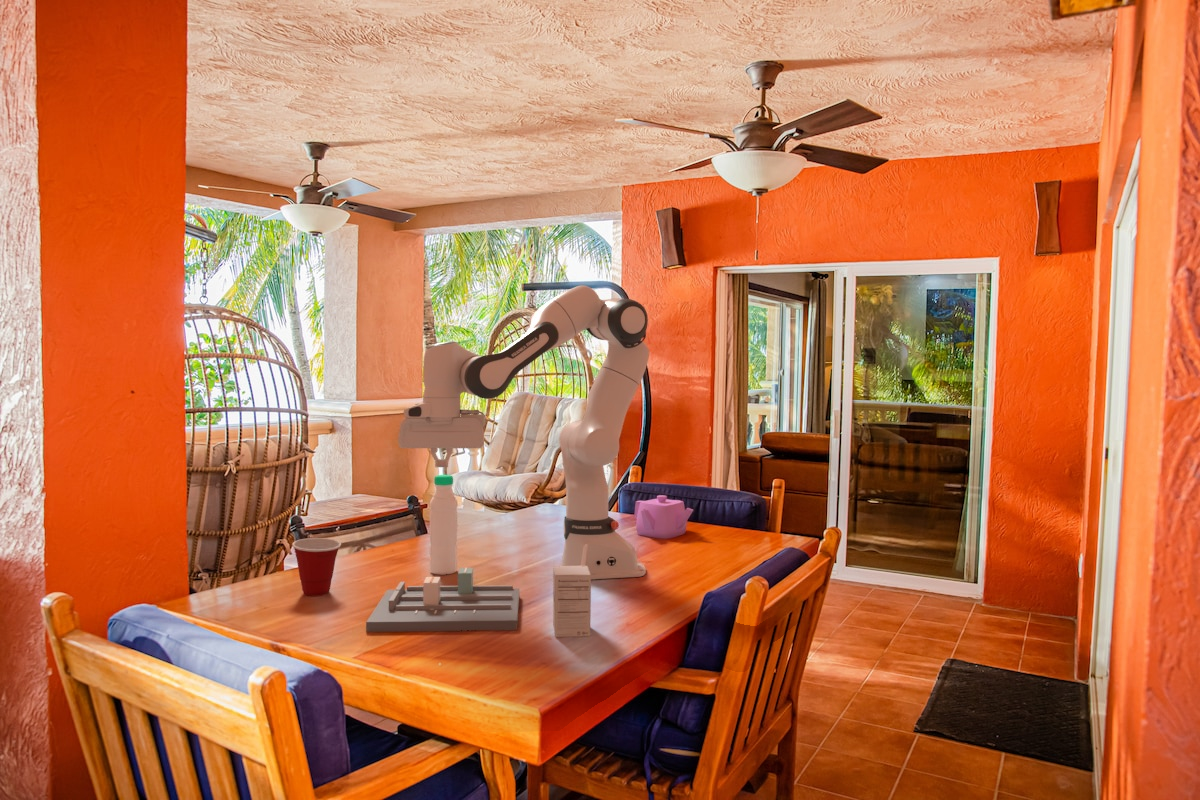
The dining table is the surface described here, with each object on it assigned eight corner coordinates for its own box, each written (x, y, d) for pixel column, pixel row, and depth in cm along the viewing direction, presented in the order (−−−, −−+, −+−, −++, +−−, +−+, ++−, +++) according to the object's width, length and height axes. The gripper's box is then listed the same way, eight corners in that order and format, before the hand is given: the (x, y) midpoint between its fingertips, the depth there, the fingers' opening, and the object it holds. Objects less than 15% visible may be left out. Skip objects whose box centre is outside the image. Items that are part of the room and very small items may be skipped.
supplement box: (552, 625, 173) (553, 565, 172) (588, 625, 174) (588, 564, 173) (553, 637, 166) (554, 574, 165) (590, 637, 166) (591, 573, 166)
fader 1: (440, 599, 183) (440, 576, 183) (437, 606, 178) (437, 582, 178) (426, 599, 183) (426, 576, 182) (423, 606, 178) (423, 582, 177)
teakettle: (679, 528, 278) (680, 491, 278) (694, 538, 261) (695, 499, 261) (629, 529, 275) (630, 492, 275) (641, 540, 258) (641, 500, 258)
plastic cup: (317, 602, 188) (317, 548, 187) (281, 595, 192) (281, 544, 192) (351, 590, 198) (351, 540, 197) (316, 584, 202) (316, 535, 202)
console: (519, 597, 194) (519, 580, 194) (516, 630, 170) (517, 610, 170) (387, 598, 191) (387, 581, 191) (366, 631, 167) (366, 612, 167)
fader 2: (473, 589, 191) (473, 567, 191) (471, 595, 186) (471, 572, 186) (459, 589, 191) (459, 567, 191) (457, 595, 186) (457, 572, 186)
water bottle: (451, 576, 212) (451, 477, 211) (425, 574, 213) (425, 476, 212) (461, 569, 219) (461, 474, 218) (435, 567, 220) (436, 473, 219)
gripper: (486, 408, 204) (486, 465, 205) (401, 408, 202) (401, 465, 203) (484, 410, 198) (484, 468, 198) (396, 410, 196) (396, 468, 197)
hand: (441, 467), depth 201 cm, fingers closed
